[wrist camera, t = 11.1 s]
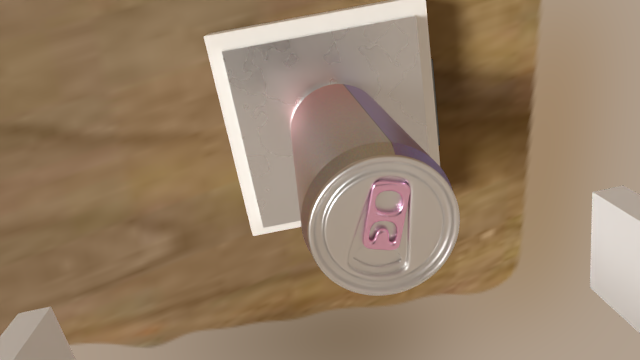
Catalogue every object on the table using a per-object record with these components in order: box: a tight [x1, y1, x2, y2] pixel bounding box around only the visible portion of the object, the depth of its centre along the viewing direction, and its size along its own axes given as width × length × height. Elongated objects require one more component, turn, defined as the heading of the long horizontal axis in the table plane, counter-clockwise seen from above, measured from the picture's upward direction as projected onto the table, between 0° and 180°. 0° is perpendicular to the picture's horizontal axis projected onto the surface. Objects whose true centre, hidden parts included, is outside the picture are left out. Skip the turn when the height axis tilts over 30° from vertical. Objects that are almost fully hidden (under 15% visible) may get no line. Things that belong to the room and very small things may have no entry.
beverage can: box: [291, 84, 460, 295], centre depth 25 cm, size 6×6×15 cm
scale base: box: [204, 0, 440, 236], centre depth 34 cm, size 14×14×3 cm
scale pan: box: [222, 15, 429, 228], centre depth 32 cm, size 12×12×1 cm
